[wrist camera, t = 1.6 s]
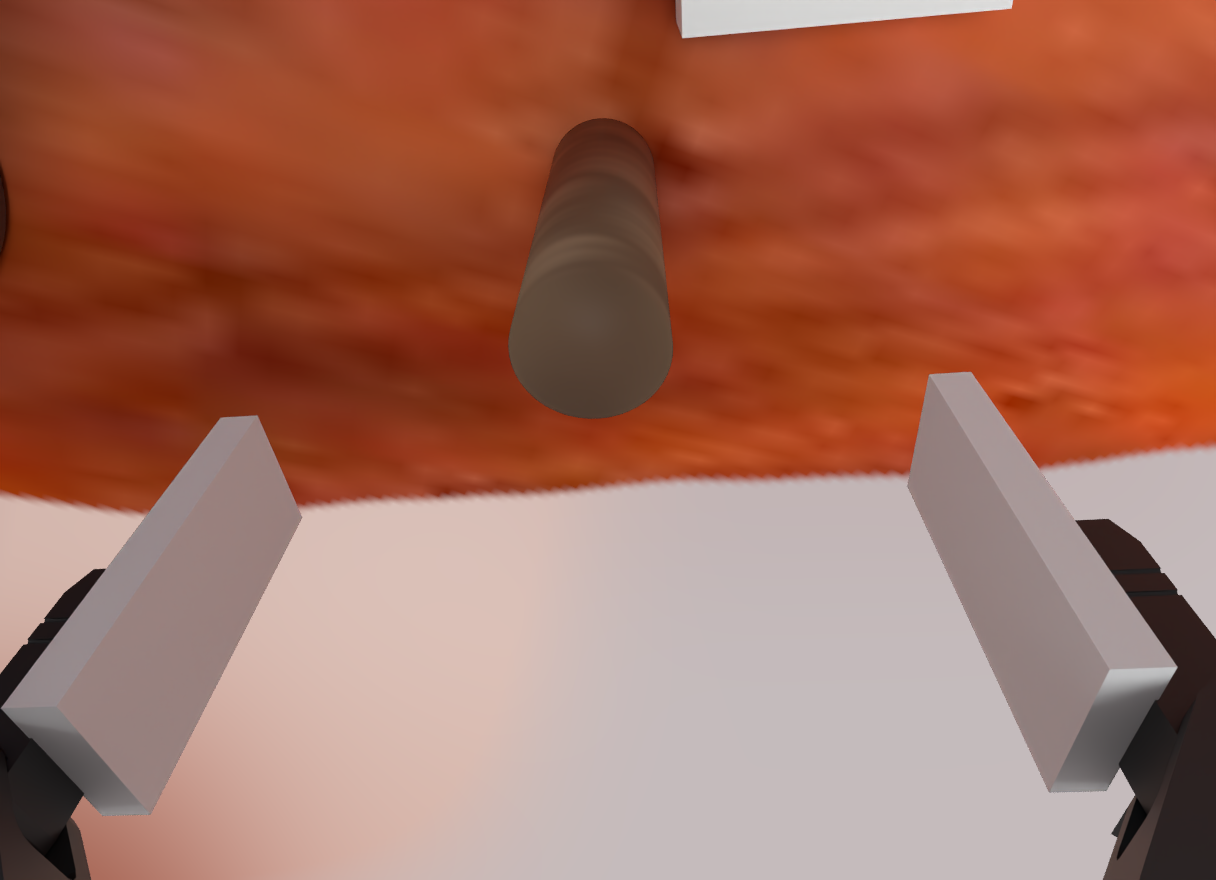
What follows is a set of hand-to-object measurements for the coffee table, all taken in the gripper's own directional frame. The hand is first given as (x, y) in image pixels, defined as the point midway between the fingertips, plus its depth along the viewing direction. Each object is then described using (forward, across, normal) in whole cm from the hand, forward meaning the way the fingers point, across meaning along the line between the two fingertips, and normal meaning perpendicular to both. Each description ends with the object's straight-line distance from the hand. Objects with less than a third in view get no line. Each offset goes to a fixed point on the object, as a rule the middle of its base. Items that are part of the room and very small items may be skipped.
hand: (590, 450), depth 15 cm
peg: (+18, 0, 0) cm, 18 cm away
